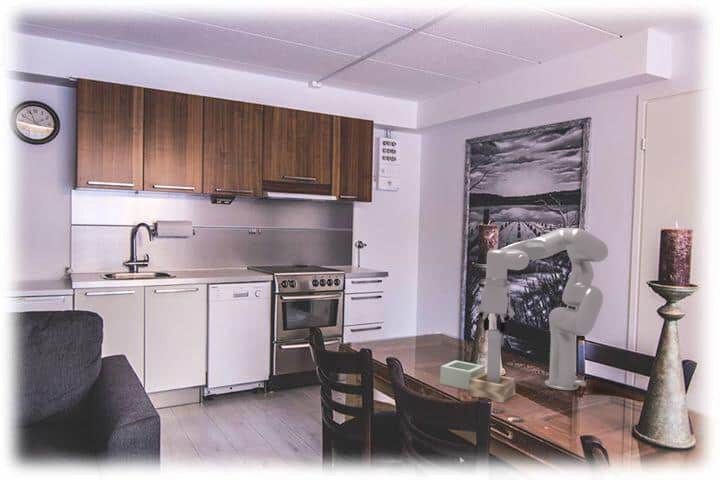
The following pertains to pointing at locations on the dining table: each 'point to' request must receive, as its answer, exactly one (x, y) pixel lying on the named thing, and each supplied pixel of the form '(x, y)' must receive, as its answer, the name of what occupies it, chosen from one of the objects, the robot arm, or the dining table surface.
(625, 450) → the dining table surface
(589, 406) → the dining table surface
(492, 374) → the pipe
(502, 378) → the oak collar
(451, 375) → the holder block
